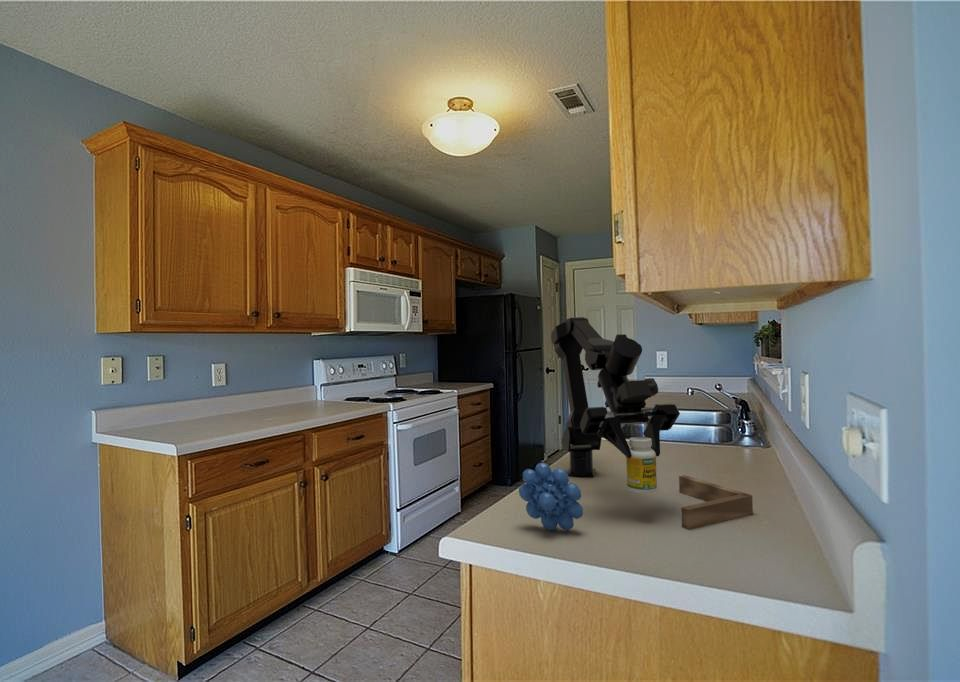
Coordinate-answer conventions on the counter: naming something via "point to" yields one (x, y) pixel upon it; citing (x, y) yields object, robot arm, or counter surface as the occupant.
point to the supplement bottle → (641, 466)
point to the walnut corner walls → (712, 503)
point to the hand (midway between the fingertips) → (644, 456)
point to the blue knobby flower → (551, 497)
